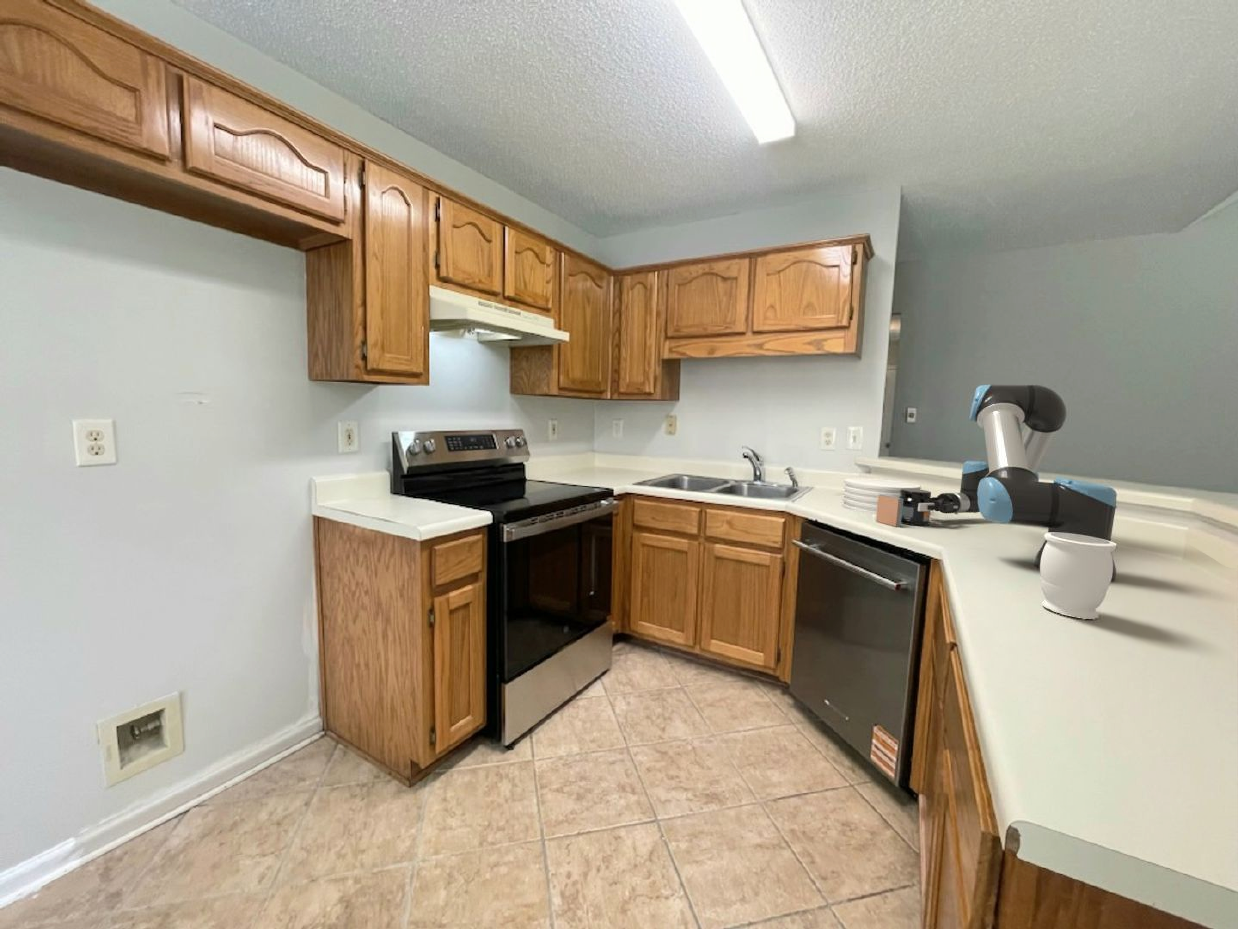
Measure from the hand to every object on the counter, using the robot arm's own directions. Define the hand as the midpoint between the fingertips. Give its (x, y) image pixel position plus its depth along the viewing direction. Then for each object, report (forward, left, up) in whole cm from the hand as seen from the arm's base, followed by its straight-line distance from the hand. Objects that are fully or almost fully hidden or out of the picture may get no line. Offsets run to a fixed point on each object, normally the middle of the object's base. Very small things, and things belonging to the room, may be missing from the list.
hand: (905, 504), depth 175 cm
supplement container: (+3, -2, -7) cm, 8 cm away
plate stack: (+25, +12, -8) cm, 29 cm away
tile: (-6, +4, -7) cm, 10 cm away
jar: (-71, -38, -7) cm, 81 cm away
